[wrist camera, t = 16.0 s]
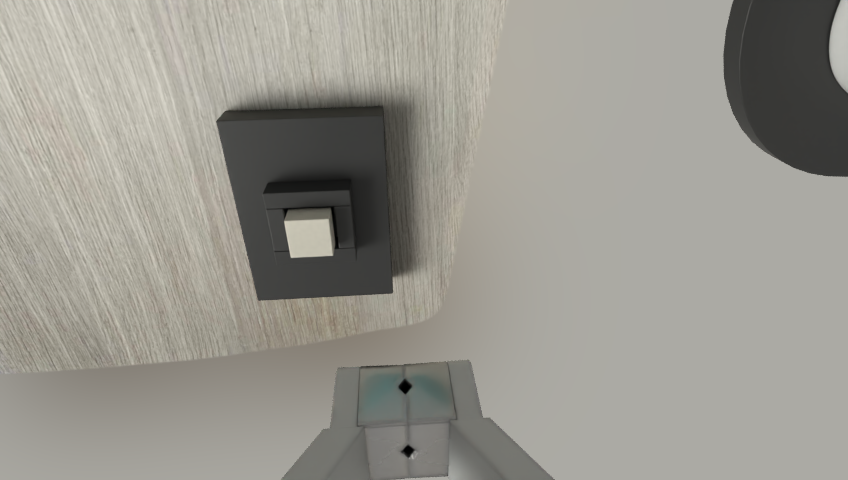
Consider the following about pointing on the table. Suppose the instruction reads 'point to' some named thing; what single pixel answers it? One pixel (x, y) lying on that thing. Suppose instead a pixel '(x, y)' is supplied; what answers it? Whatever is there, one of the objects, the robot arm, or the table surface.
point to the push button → (310, 232)
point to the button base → (311, 196)
